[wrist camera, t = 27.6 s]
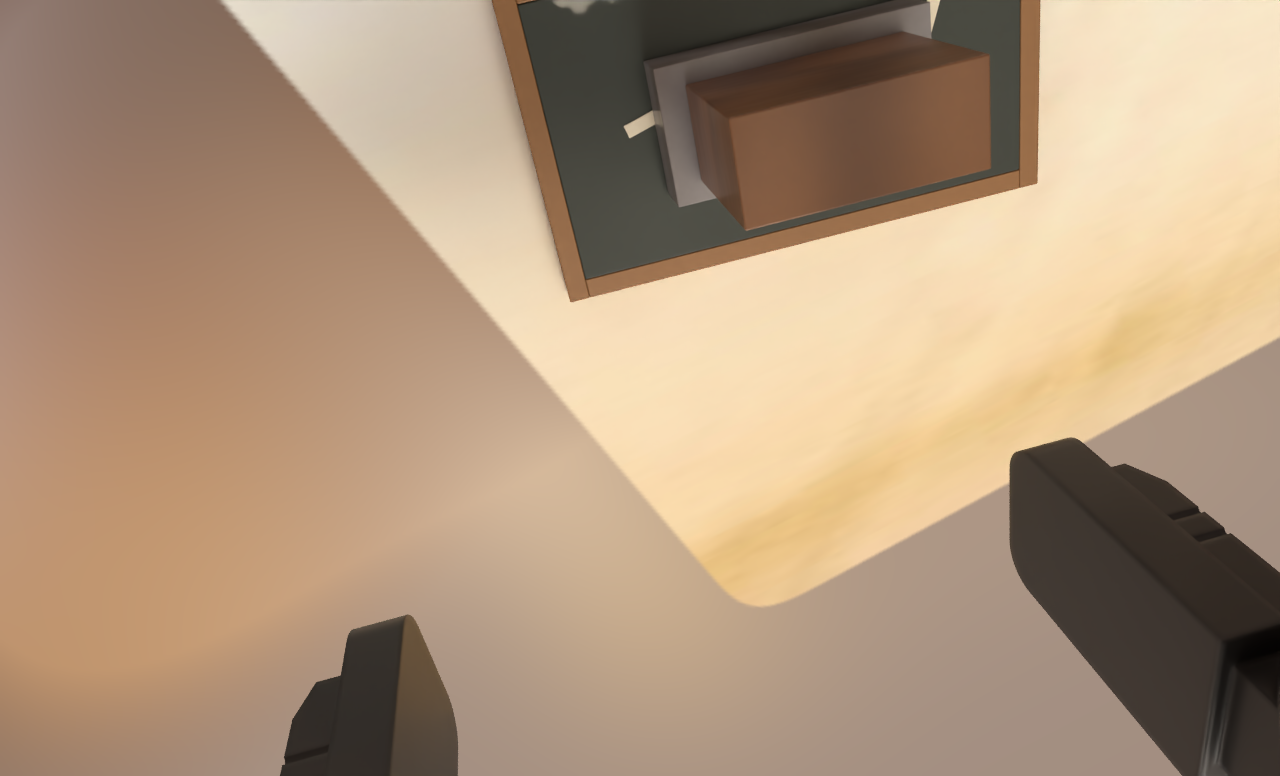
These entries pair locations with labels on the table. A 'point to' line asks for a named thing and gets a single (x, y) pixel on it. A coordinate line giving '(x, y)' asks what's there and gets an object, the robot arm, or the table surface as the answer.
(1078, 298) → the table surface
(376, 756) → the robot arm
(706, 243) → the chalkboard
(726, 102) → the eraser
